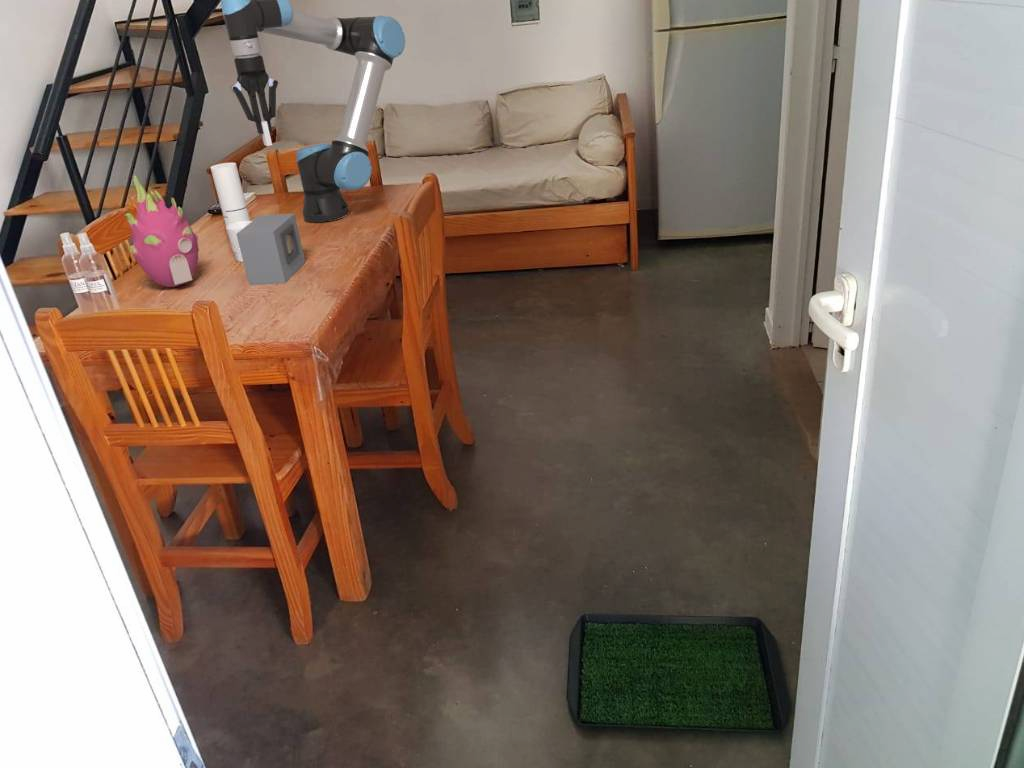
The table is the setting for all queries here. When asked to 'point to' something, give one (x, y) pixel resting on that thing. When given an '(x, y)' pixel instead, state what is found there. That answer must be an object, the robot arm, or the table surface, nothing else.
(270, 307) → the table surface
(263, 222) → the housing
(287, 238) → the peg
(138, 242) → the pink dragon fruit
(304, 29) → the robot arm
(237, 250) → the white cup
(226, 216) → the cylindrical container
